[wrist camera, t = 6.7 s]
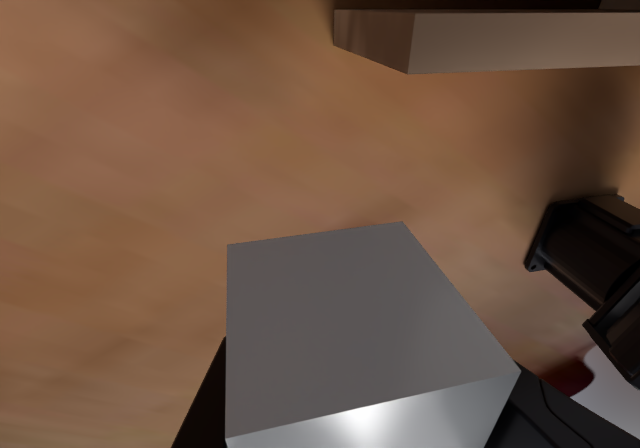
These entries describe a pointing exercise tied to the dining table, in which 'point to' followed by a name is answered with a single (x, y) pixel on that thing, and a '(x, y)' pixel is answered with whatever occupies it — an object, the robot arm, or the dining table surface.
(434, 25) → the trapdoor frame
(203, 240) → the dining table surface
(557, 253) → the robot arm
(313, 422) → the grey cube
